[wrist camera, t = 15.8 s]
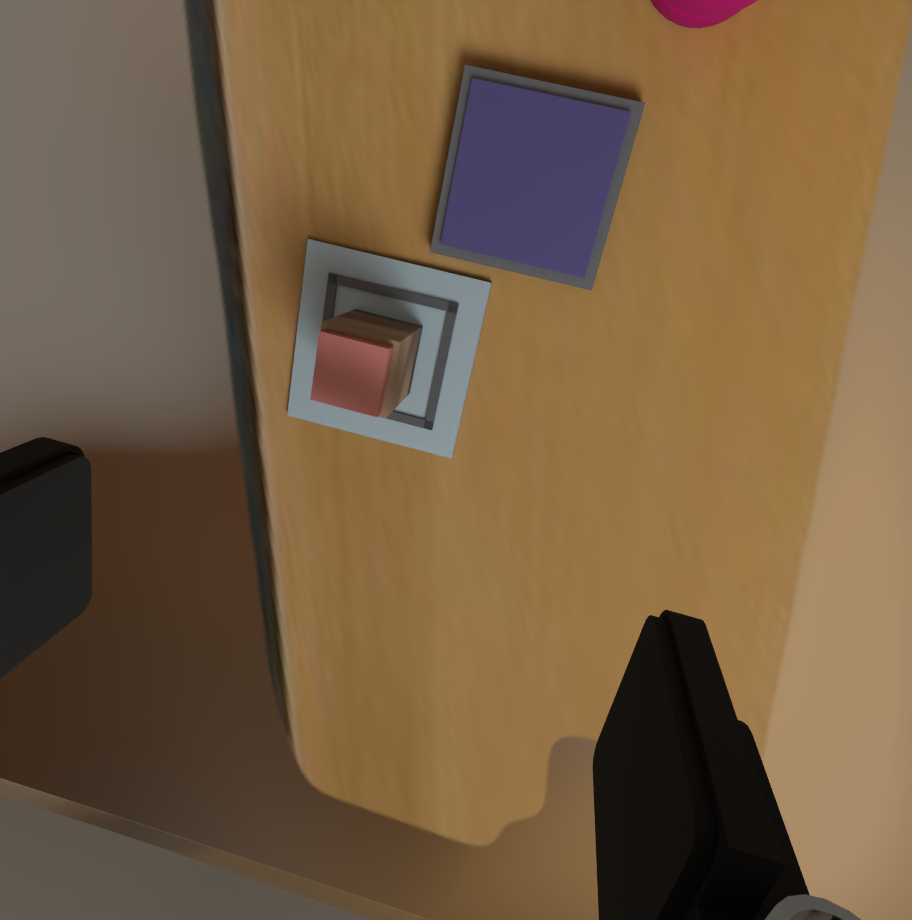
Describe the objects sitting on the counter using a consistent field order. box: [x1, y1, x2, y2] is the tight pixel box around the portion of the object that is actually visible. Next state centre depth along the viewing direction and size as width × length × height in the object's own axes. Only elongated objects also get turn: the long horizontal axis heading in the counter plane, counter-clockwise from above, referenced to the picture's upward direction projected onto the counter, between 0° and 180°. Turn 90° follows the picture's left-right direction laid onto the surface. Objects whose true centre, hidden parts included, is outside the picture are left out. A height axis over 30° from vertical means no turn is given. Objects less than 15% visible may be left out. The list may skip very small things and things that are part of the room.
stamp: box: [310, 309, 423, 419], centre depth 39 cm, size 5×5×7 cm
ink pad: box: [430, 65, 645, 290], centre depth 36 cm, size 10×10×1 cm
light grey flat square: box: [287, 239, 492, 459], centre depth 42 cm, size 12×12×1 cm
